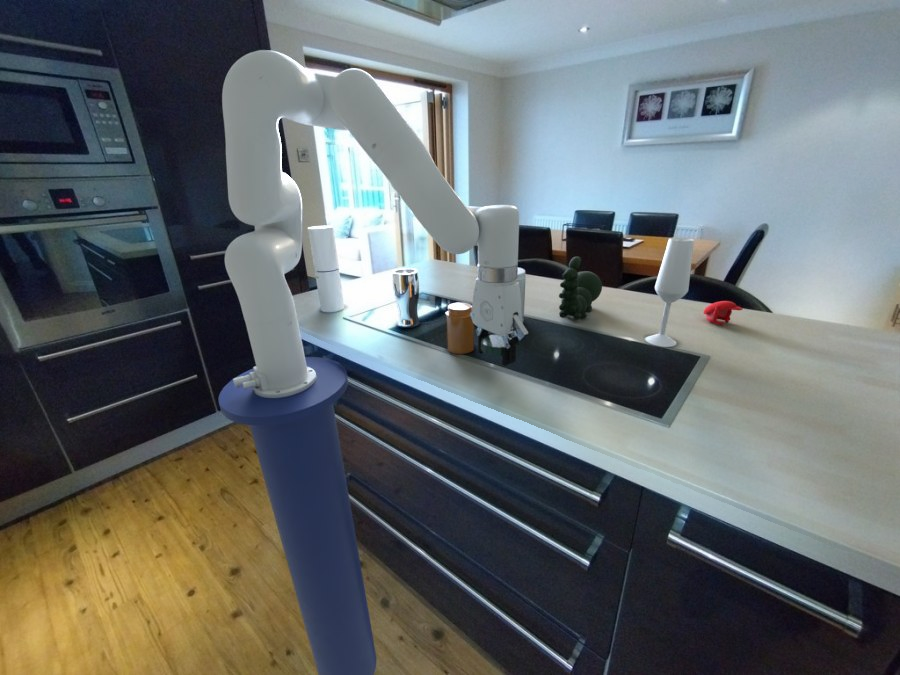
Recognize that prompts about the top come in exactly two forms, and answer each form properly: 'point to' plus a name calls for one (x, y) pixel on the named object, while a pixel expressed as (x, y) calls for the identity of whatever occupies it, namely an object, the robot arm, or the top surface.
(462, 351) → the jar
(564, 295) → the toy figurine
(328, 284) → the cylindrical container
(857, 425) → the top surface
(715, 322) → the red animal figurine
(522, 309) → the supplement tub
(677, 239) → the champagne flute
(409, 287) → the beer glass
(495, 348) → the lid
